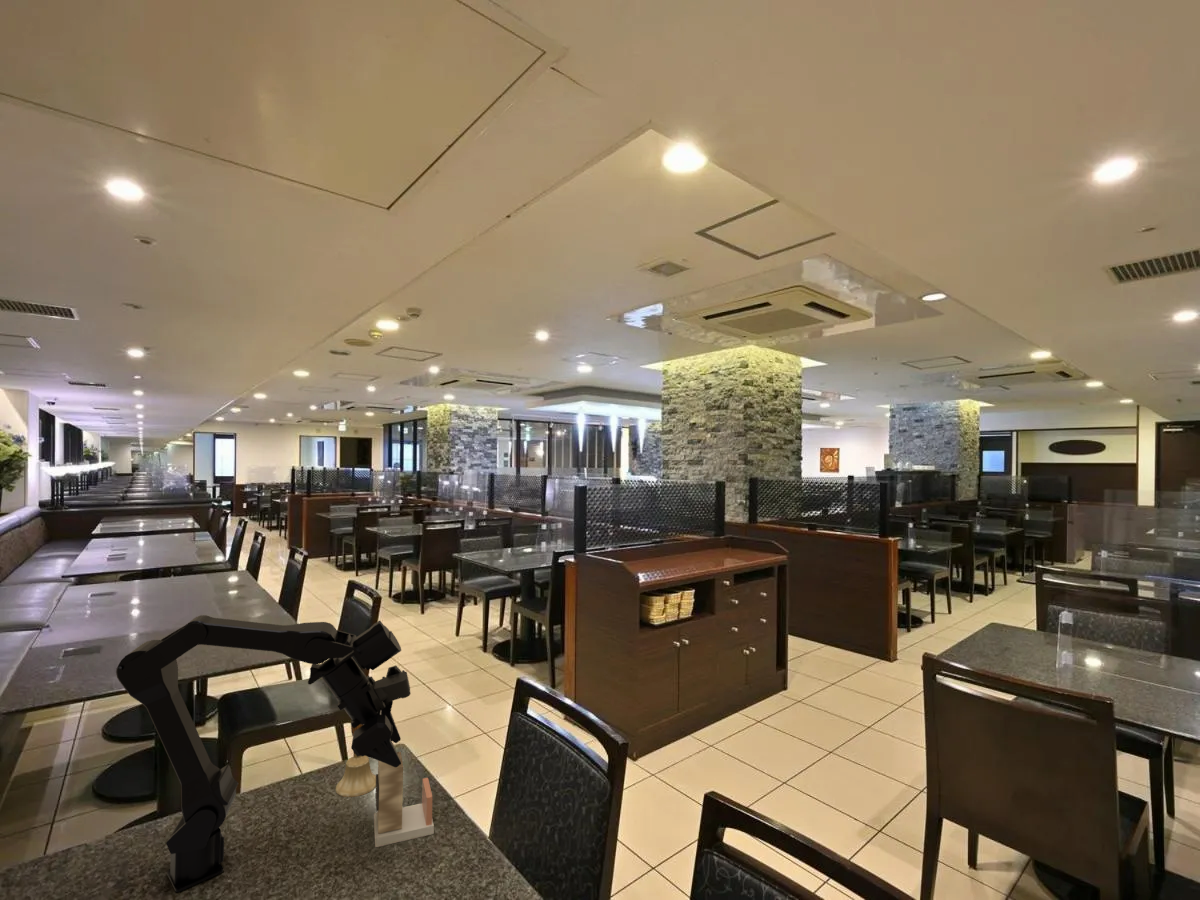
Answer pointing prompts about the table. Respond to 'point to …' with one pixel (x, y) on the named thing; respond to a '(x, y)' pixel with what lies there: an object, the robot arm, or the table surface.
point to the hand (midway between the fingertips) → (398, 752)
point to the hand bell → (356, 776)
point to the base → (410, 821)
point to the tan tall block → (389, 796)
